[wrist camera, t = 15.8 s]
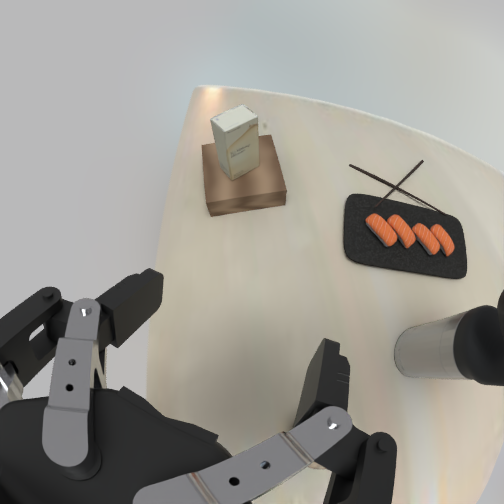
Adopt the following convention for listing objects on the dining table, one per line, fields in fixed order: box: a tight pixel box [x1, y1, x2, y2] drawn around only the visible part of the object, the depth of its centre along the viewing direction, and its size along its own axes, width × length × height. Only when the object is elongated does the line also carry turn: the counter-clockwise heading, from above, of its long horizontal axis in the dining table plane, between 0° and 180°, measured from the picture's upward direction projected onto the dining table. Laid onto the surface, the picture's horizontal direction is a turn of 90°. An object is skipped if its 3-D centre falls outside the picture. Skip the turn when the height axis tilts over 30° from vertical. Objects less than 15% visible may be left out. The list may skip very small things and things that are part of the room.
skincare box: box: [210, 104, 259, 180], centre depth 43 cm, size 6×4×12 cm
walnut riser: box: [202, 135, 287, 217], centre depth 51 cm, size 14×14×5 cm
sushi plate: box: [344, 160, 467, 279], centre depth 49 cm, size 29×30×4 cm
